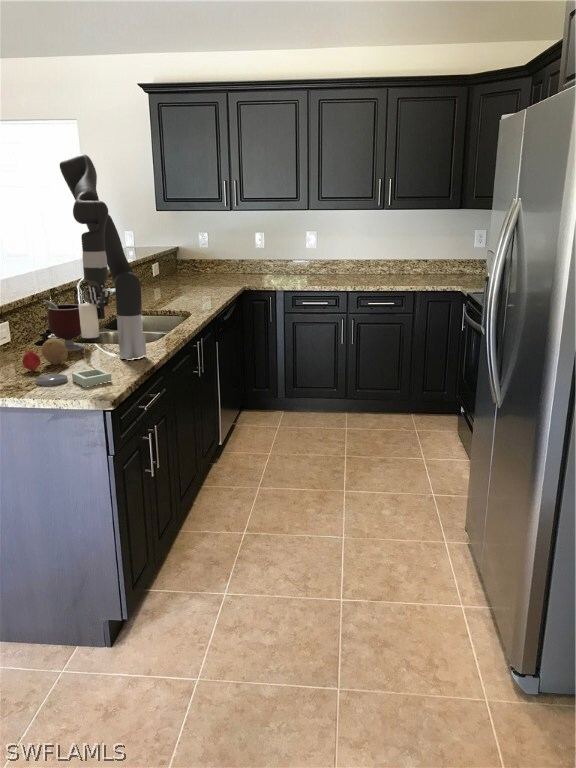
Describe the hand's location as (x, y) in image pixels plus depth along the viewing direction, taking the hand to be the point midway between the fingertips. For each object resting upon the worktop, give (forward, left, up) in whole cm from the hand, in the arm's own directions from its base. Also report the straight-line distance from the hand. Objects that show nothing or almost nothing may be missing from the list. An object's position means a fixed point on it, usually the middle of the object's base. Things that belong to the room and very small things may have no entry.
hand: (99, 318), depth 197 cm
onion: (+15, -26, -21) cm, 37 cm away
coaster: (+15, -9, -21) cm, 27 cm away
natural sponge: (+5, -30, -21) cm, 37 cm away
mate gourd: (-9, -52, -21) cm, 57 cm away
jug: (+2, 0, -6) cm, 6 cm away
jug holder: (+5, 0, -21) cm, 22 cm away
